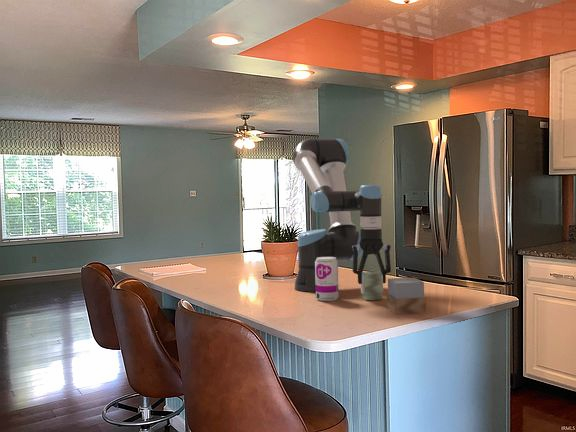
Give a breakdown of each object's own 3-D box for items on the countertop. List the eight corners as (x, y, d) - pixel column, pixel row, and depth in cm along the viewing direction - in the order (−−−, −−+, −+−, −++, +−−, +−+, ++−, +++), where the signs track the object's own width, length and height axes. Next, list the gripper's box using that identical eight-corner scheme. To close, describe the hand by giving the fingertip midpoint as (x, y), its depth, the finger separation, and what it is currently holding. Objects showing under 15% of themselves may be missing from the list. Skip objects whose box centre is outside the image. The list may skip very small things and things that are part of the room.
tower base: (394, 315, 162) (394, 299, 162) (386, 308, 172) (386, 293, 172) (425, 314, 162) (425, 298, 162) (416, 307, 172) (416, 292, 172)
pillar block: (365, 299, 183) (364, 274, 183) (362, 296, 189) (361, 271, 189) (382, 299, 183) (381, 274, 183) (378, 295, 189) (378, 271, 189)
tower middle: (396, 299, 162) (395, 283, 162) (388, 293, 171) (387, 278, 171) (424, 297, 163) (423, 282, 163) (414, 292, 172) (414, 277, 172)
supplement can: (332, 302, 182) (331, 259, 181) (311, 300, 186) (310, 258, 185) (342, 298, 189) (341, 257, 188) (322, 296, 193) (321, 256, 192)
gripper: (346, 229, 181) (347, 295, 182) (400, 228, 182) (400, 293, 183) (342, 228, 188) (344, 291, 189) (394, 226, 189) (395, 289, 190)
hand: (371, 292), depth 186 cm, fingers closed on pillar block, 6 cm apart
